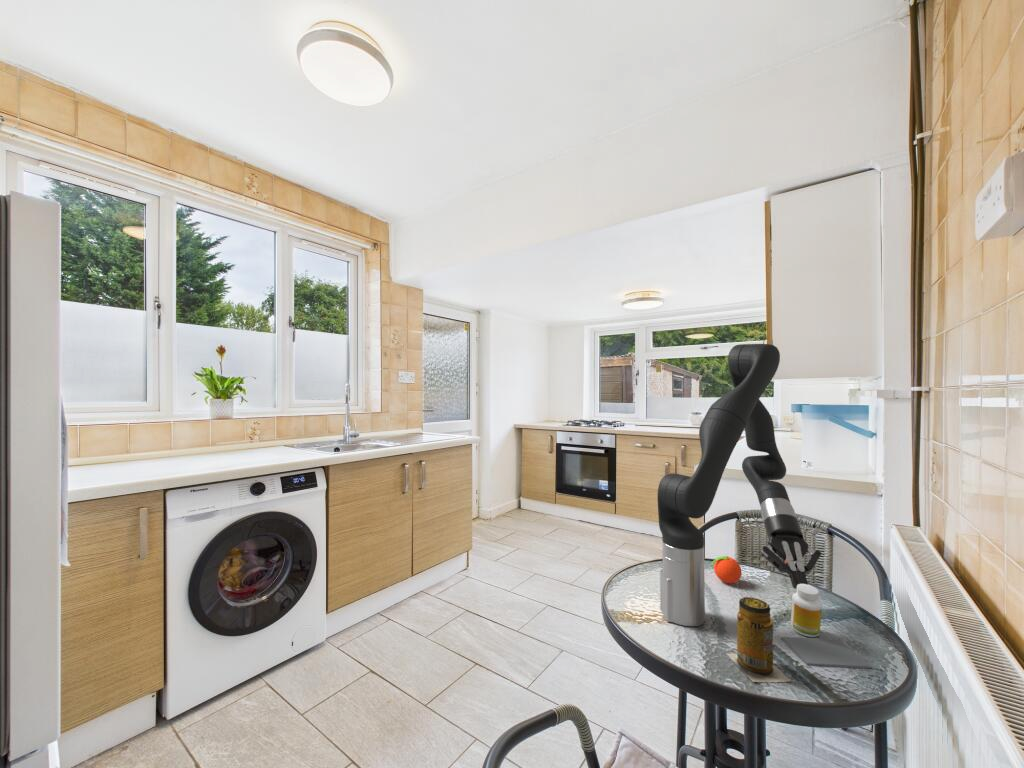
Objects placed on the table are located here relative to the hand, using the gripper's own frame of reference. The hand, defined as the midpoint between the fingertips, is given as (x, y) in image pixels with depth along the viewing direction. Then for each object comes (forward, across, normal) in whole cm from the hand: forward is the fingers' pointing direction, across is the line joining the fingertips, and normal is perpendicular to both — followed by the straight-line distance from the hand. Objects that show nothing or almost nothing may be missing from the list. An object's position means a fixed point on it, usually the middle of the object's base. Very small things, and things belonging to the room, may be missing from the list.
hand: (802, 590), depth 95 cm
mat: (+12, 0, 0) cm, 13 cm away
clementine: (-9, -11, +21) cm, 25 cm away
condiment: (+19, -15, -6) cm, 25 cm away
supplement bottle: (+7, 0, +5) cm, 8 cm away
